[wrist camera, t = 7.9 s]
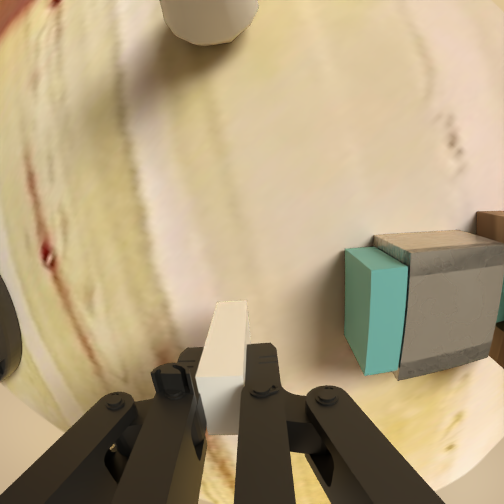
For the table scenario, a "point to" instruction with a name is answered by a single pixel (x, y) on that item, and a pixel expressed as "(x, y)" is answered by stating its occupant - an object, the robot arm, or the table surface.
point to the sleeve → (446, 297)
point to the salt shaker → (208, 19)
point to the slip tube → (377, 308)
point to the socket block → (500, 229)
